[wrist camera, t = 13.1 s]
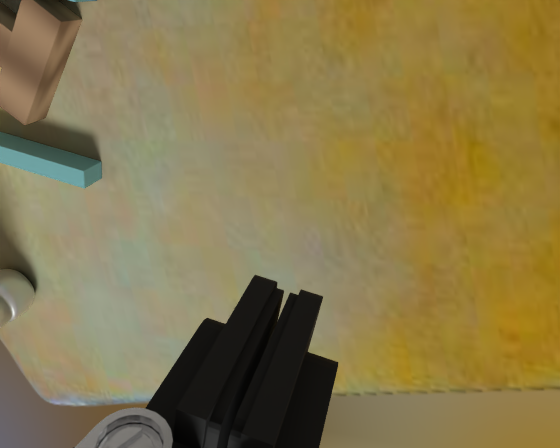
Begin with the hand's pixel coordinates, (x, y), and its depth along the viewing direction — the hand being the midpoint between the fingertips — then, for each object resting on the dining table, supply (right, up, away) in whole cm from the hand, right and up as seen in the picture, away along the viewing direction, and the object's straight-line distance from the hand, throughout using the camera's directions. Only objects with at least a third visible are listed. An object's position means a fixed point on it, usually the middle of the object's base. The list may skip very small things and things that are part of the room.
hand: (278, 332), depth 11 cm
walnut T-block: (-26, +22, +35) cm, 49 cm away
